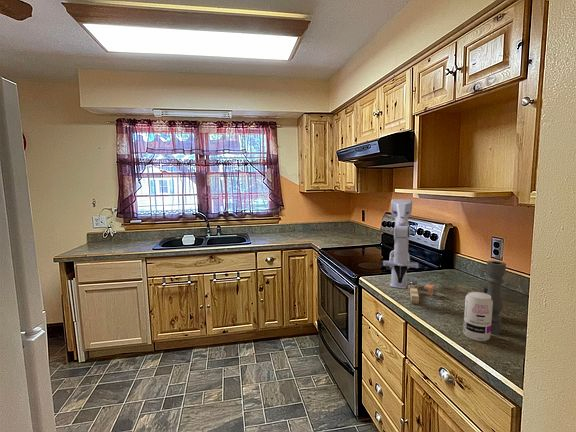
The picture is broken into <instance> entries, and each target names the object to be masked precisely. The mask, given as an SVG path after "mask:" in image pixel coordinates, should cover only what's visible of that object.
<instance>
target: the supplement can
mask: <svg viewBox="0 0 576 432" xmlns="http://www.w3.org/2000/svg"><path fill="white" fill-rule="evenodd" d="M492 308H493V300H492V298H491V296H490V295H488V294H486V293H484V292H481V291H468V292H467V294H466V296H465V299H464V313H463V314H464V315H463V328H462V329H463V331H462V333H463V334H464V335H465V337H467V338H468V339H470V340H473V341H477V342H486V341H489V340H490V339H491V335H492V333H491V321H492Z"/></svg>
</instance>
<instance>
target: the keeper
mask: <svg viewBox="0 0 576 432" xmlns="http://www.w3.org/2000/svg"><path fill="white" fill-rule="evenodd" d="M423 287H424V289H425V290H427V293H426V294H427V296H434V288H435V284H433V283H427V284H425V286H423Z"/></svg>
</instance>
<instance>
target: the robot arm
mask: <svg viewBox="0 0 576 432" xmlns="http://www.w3.org/2000/svg"><path fill="white" fill-rule="evenodd" d="M390 205H391V206H390V214H391V216H392V217H394V218H395V219H394V227H393V240H394V245H393V248H394V249H393V250H391V251H390V252H389V260H383V262H382V263H383V267H389V268H391V276H390V277H391V279H390V284H389V286H388V287H391V288H399V289H407V288H408V285H409V282H407V275H408V274H407V273H408V272H407V271H408V270H409V269H410V268H413V269H414V268H415V269H419V262H413V261H411V257H410V256H411V255H410V252H409V238H410V236H411V227H410V225H409V217H411V215H412V212H413V200H412V199H393V198H392V199H391V203H390Z"/></svg>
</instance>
